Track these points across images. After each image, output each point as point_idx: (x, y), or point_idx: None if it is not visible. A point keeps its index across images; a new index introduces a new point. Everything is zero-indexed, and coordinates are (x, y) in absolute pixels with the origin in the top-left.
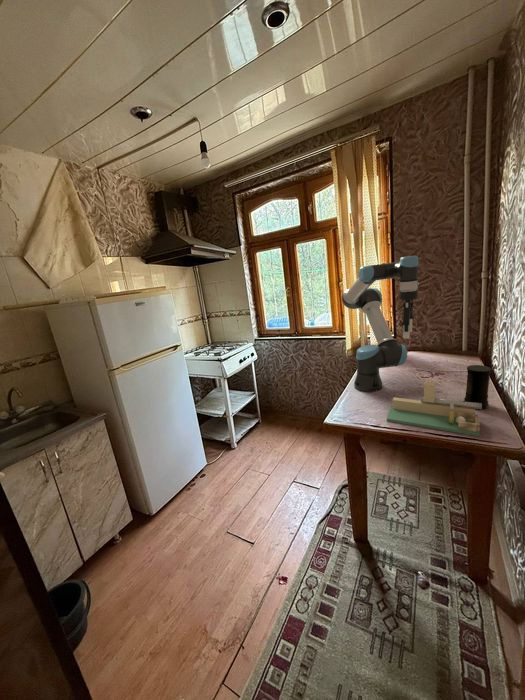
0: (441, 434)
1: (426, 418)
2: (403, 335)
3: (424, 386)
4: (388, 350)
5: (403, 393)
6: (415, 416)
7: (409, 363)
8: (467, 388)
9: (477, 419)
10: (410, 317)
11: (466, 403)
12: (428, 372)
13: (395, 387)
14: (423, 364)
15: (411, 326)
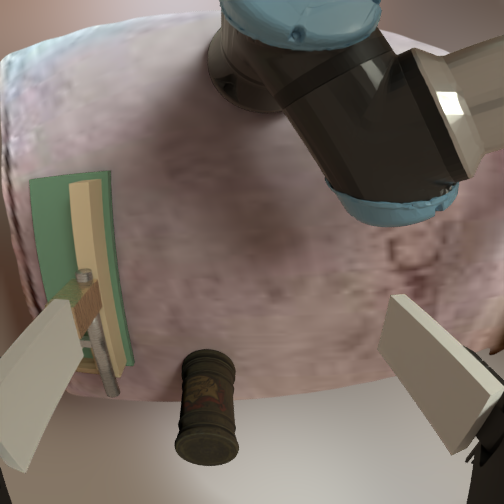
0: (36, 297)
1: (67, 272)
2: (39, 319)
3: (48, 303)
4: (342, 115)
5: (231, 191)
6: (65, 246)
7: (489, 201)
8: (195, 386)
9: (82, 370)
10: (489, 444)
11: (99, 372)
12: (429, 258)
13: (282, 158)
14: (481, 241)
15: (406, 382)
